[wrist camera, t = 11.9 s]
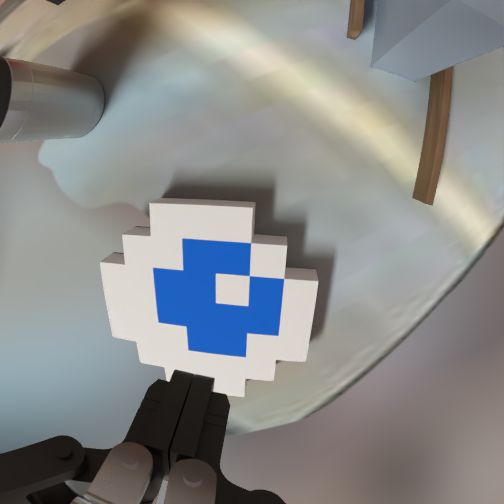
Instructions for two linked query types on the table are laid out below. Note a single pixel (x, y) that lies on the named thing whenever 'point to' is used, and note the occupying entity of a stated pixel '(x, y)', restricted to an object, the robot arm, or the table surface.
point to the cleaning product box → (56, 1)
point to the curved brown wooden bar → (434, 121)
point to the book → (434, 34)
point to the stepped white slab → (209, 293)
